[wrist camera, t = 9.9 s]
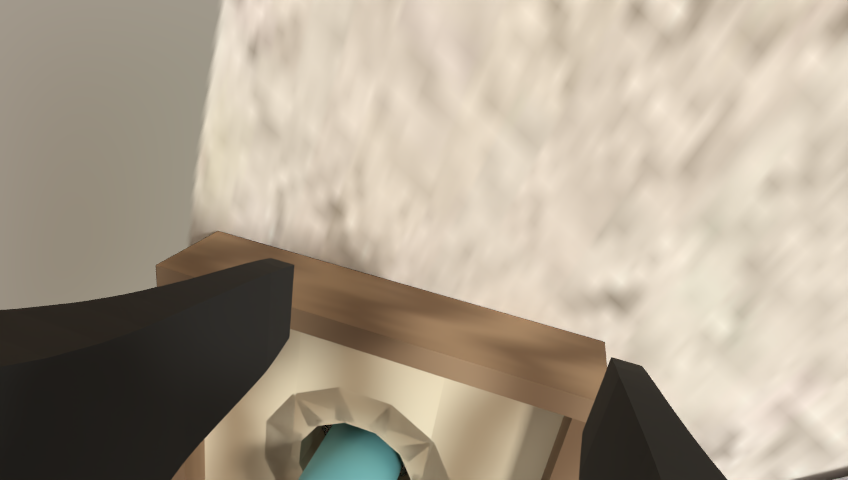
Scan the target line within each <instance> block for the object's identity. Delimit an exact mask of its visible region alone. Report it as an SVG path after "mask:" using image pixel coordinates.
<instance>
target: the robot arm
mask: <svg viewBox="0 0 848 480" xmlns="http://www.w3.org/2000/svg"><path fill="white" fill-rule="evenodd" d="M293 279H294V265H293V264H290V263H287V262H283V261H280V260H276V259H273V258H268V259H262V260H257V261H253V262H249V263H245V264H241V265H238V266H234V267H231V268H227V269H224V270H220V271H216V272H213V273H209V274H206V275H202V276H198V277H195V278H191V279H188V280H184V281H180V282H175V283H171V284H167V285H163V286H159V287H155V288H151V289H147V290H143V291H138V292H134V293H129V294H125V295H118V296H113V297H108V298H101V299H95V300H89V301H83V302H76V303H68V304H58V305H49V306H40V307H31V308H22V309H10V310H0V480H171V479H172V478H173V477H174V475H175V474H176V473H177V471H178V470H179V469H180V467H181V466H182V465H183V463H184V462H185V461H186V459H187V458H188V457H189V456H190V455H191V454H192V452H193V451H194V450H195V449H196V448H197V447H198V445H199V444H200V443H201V442H202V441H203V440H204V439H205V438H206V437H207V436H208V434H209V433H210V432H211V431H212V430H213V429H214V428H215V427H216V426H217V425H218V424H219V423H220V422H221V420H222V419H223V418H224V417H225V416H226V415H227V414H228V413H229V412H230V411H231V410H232V409H233V408H234V406H235V405H236V404H237V403H238V402H239V401H240V400H241V399H242V398H243V397H244V396H245V395H246V393H247V392H248V391H249V390H250V389H251V388H252V387H253V386H254V385H255V384H256V383H257V381H258V380H259V379H260V378H261V377H262V376H263V375H264V374H265V372H266V371H267V370H268V368H269V367H270V366H271V364H272V363H273V362H274V360H275V359H276V357H277V356H278V354H279V353H280V351H281V350H282V348H283V347H284V345H285V344H286V342H287V341H288V339H289V337H290V323H291V308H292V293H293ZM579 480H727V479H726V477H725V476H724V475H723V474H722V473H721V471H720V470H719V469H718V468H717V467H716V465H715V464H714V463H713V462H712V461H711V459H710V458H709V457H708V456H707V454H706V453H705V452H704V451H703V449H702V448H701V447H700V445H699V444H698V443H697V441H696V440H695V439H694V438H693V436H692V435H691V434H690V432H689V431H688V430H687V428H686V427H685V425H684V424H683V423H682V421H681V420H680V419H679V417H678V416H677V414H676V413H675V412H674V410H673V409H672V407H671V406H670V405H669V403H668V402H667V400H666V399H665V398H664V396H663V395H662V393H661V392H660V390H659V389H658V387H657V386H656V385H655V383H654V382H653V380H652V379H651V378H650V376H649V375H648V373H647V372H646V371H645V369H644V368H643V367H642V366H640V365H636V364H633V363H630V362H626V361H623V360H619V359H616V358H612V357H611V359H610V362H609V365H608V367H607V370H606V372H605V375H604V378H603V380H602V383H601V385H600V388H599V390H598V393H597V396H596V398H595V401H594V403H593V406H592V409H591V411H590V414H589V416H588V419H587V421H586V424H585V427H584V429H583V432H582V443H581V454H580V468H579ZM834 480H848V476H847V477H842V478H838V479H834Z"/></svg>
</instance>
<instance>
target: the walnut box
mask: <svg viewBox="0 0 848 480" xmlns="http://www.w3.org/2000/svg"><path fill="white" fill-rule="evenodd" d="M268 258H273V259H276V260H280V261H283V262H287V263H290V264H293V265H294V279H293V293H292V308H291V323H290V337H289V339H288V341H287V342H286V344H285V345H284V347H283V348H282V350H281V351H280V353H279V354H278V356H277V357H276V359H275V360H274V362H273V363H272V364H271V366H270V367H269V368H268V370H267V371H266V372H265V374H264V375H263V376H262V377H261V378H260V379H259V380H258V381H257V383H256V384H255V385H254V386H253V387H252V388H251V389H250V390H249V391H248V392H247V393H246V395H245V396H244V397H243V398H242V399H241V400H240V401H239V402H238V403H237V404H236V405H235V406H234V408H233V409H232V410H231V411H230V412H229V413H228V414H227V415H226V416H225V417H224V418H223V419H222V420H221V422H220V423H219V424H218V425H217V426H216V427H215V428H214V429H213V430H212V431H211V432H210V433H209V434H208V436H207V437H206V438H205V439H204V440H203V441H202V442H201V443H200V444H199V445H198V447H197V448H196V449H195V450H194V451H193V452H192V454H191V455H190V456H189V457H188V458H187V459H186V461H185V462H184V463H183V465H182V466H181V467H180V469H179V470H178V471H177V473H176V474H175V475H174V477H173V478H172V479H171V480H298V479H299V477H300V476H301V474H302V473H303V471H304V469H305V468H306V466H307V465H308V463H309V462H310V460H311V458H312V457H313V455H314V454H315V452H316V450H317V449H318V447H319V446H320V444H321V442H322V441H323V439H324V438H325V436H326V435H325V433H324V431H323V429H322V425H329V424H338V423H347V424H350V425H353V426H356V427H359V428H362V429H364V430H367V431H370V432H373V433H376V434H377V435H378V436H379V437H380V438H381V439H382V440H384V441H385V442H386V443H387V444H388V445H389V446H390V447H392V448H393V449H394V450H395V451H396V452H397V453H398V454H400V456H401V458H402V461H403V463H404V465H405V467H406V470H407V472H408V473H407V474H406V475H405V476H398V479H397V480H579V468H580V454H581V443H582V432H583V429H584V427H585V424H586V421H587V419H588V416H589V414H590V411H591V409H592V406H593V403H594V401H595V398H596V396H597V393H598V390H599V388H600V385H601V383H602V380H603V378H604V375H605V372H606V370H607V363H606V351H605V342H603V341H599V340H596V339H592V338H589V337H585V336H582V335H578V334H575V333H571V332H568V331H564V330H561V329H557V328H554V327H550V326H547V325H543V324H540V323H536V322H533V321H529V320H526V319H522V318H519V317H515V316H512V315H508V314H505V313H501V312H498V311H495V310H491V309H488V308H484V307H481V306H477V305H474V304H470V303H467V302H463V301H460V300H456V299H453V298H449V297H446V296H442V295H439V294H435V293H432V292H428V291H425V290H421V289H418V288H414V287H411V286H407V285H404V284H400V283H397V282H394V281H390V280H387V279H383V278H380V277H376V276H373V275H369V274H366V273H362V272H359V271H355V270H352V269H348V268H345V267H341V266H338V265H334V264H331V263H327V262H324V261H320V260H317V259H313V258H310V257H306V256H303V255H299V254H296V253H292V252H289V251H286V250H282V249H279V248H275V247H272V246H268V245H265V244H261V243H258V242H254V241H251V240H247V239H244V238H240V237H237V236H233V235H230V234H226V233H223V232H219V231H217V232H215V233H214V234H212V235H210V236H208V237H206V238H204V239H203V240H201V241H199V242H197V243H195V244H194V245H192V246H190V247H188V248H186V249H184V250H183V251H181V252H179V253H177V254H175V255H173V256H172V257H170V258H168V259H166V260H164V261H162V262H161V263H159V264H157V265H156V278H157V287H159V286H163V285H167V284H171V283H175V282H180V281H184V280H188V279H191V278H195V277H198V276H202V275H206V274H209V273H213V272H216V271H220V270H224V269H227V268H231V267H234V266H238V265H241V264H245V263H249V262H253V261H257V260H262V259H268Z"/></svg>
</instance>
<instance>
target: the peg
mask: <svg viewBox="0 0 848 480" xmlns="http://www.w3.org/2000/svg"><path fill="white" fill-rule="evenodd" d="M403 464H404V463H403V461H402V458H401V456H400V454H398V453H397V452H396V451H395V450H394V449H393V448H392V447H390V446H389V445H388V444H387V443H386V442H385V441H384V440H382V439H381V438H380V437H379V436H378V435H377V434H376V433H373V432H370V431H367V430H364V429H362V428H359V427H356V426H353V425H350V424H347V423H338V424H333V425H332V427H331V428H330V430H329V431H328V433H327V434H326V436H325V438H324V439H323V441H322V442H321V444H320V446H319V447H318V449H317V450H316V452H315V454H314V455H313V457H312V458H311V460H310V462H309V463H308V465H307V466H306V468H305V469H304V471H303V473H302V474H301V476H300V477H299V479H298V480H397V479H398V476H399V474H400V472H401V469H402V467H403Z"/></svg>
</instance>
